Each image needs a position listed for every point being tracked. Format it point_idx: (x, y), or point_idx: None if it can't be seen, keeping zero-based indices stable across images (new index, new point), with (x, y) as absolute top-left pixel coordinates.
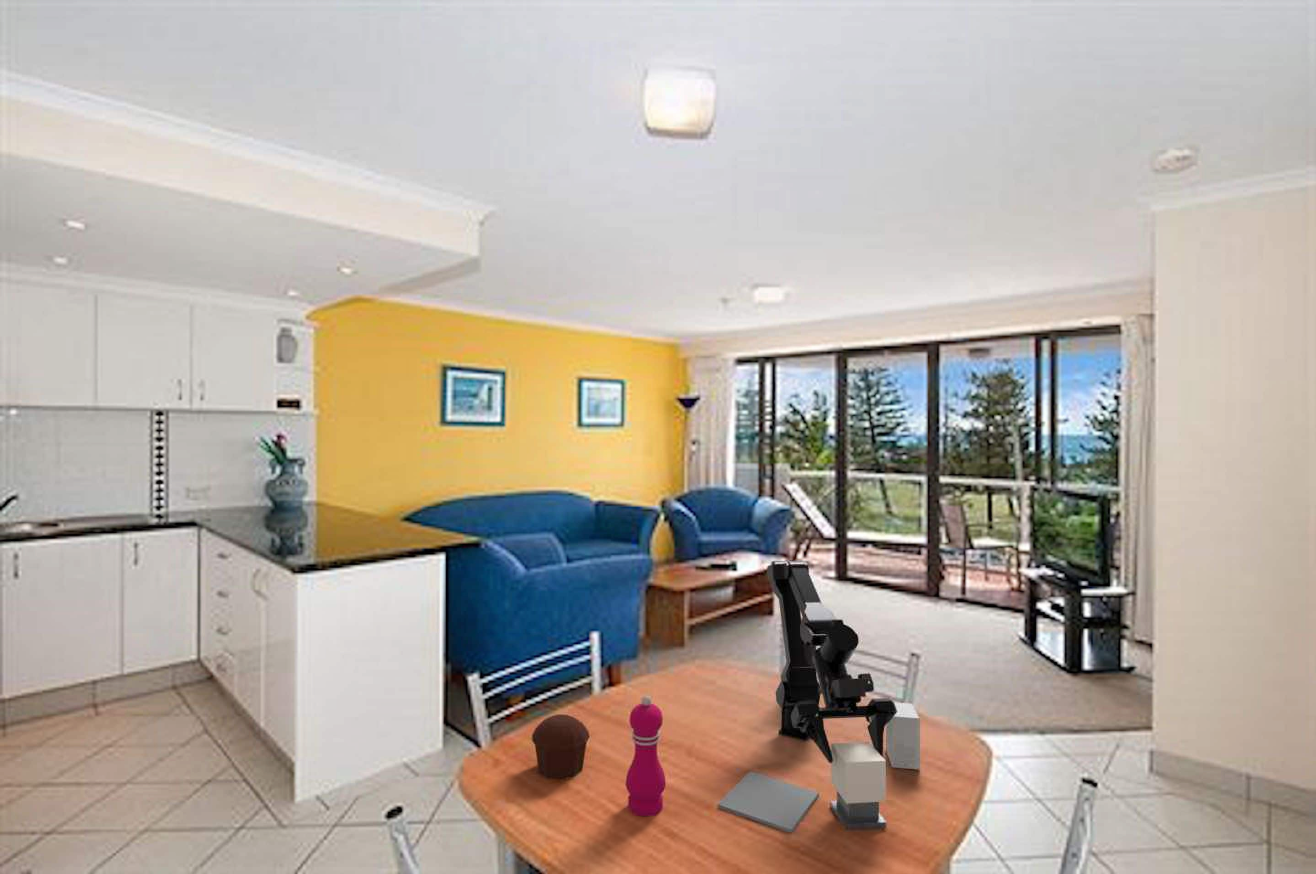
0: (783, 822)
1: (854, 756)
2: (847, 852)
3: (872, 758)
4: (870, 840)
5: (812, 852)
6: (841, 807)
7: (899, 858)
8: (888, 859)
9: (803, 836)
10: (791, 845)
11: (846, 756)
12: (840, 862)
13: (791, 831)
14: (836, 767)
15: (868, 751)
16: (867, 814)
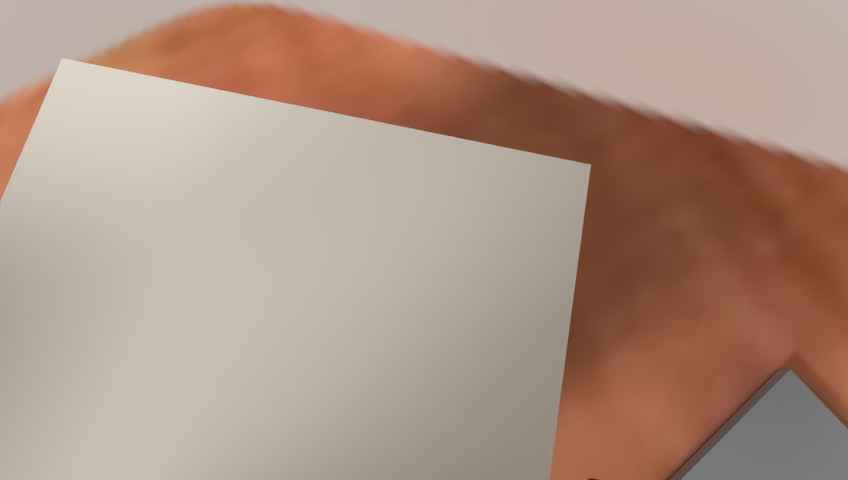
0: (813, 446)
1: (389, 270)
2: (567, 158)
3: (187, 148)
4: None
5: (728, 206)
6: None
7: (364, 59)
8: (416, 68)
9: (722, 329)
10: (809, 281)
11: (501, 306)
12: (634, 112)
13: (782, 370)
14: None
15: (81, 344)
16: None
